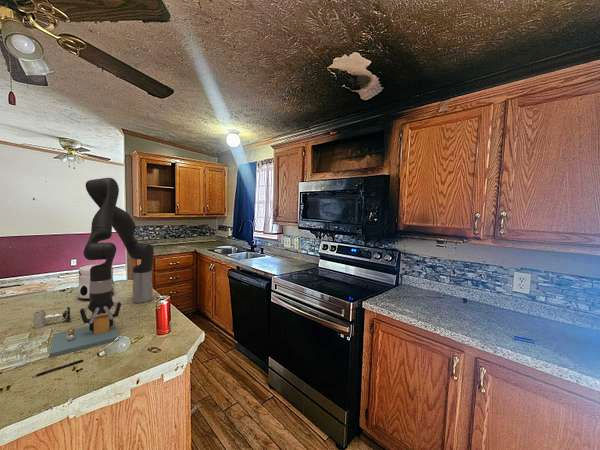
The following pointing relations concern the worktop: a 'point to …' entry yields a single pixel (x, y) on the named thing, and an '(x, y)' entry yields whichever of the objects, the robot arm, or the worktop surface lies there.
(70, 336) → the peg
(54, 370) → the black thin rod
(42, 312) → the valve
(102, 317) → the cap
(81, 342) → the board
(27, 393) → the worktop surface
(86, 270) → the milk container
